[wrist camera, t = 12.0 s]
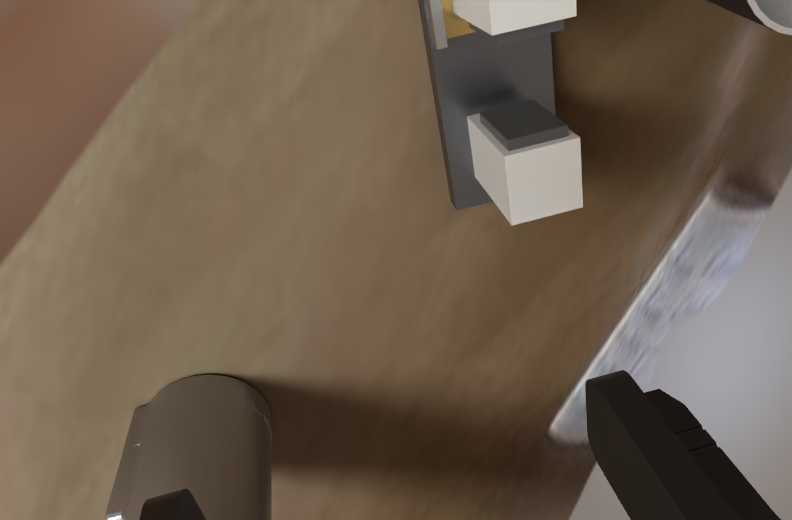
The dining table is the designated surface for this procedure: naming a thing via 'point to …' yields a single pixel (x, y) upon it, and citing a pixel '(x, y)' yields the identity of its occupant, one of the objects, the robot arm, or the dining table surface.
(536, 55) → the grey tray
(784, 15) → the coffee mug
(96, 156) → the dining table surface
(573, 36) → the dining table surface
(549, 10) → the pale square block
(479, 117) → the white rectangular block
